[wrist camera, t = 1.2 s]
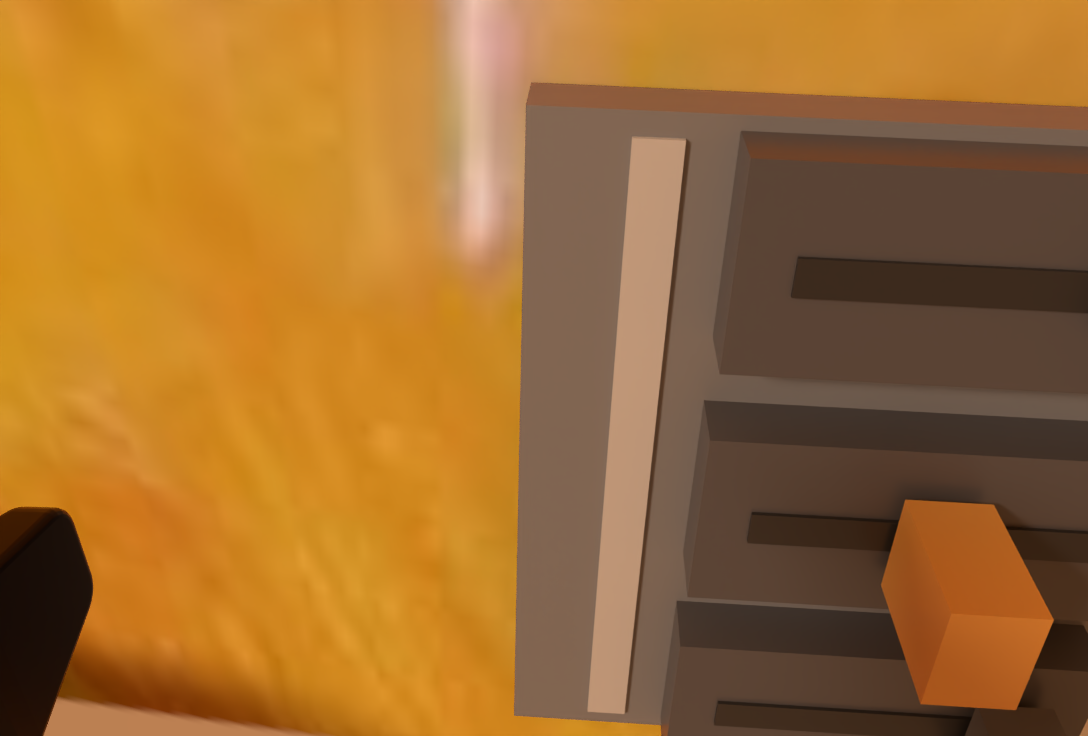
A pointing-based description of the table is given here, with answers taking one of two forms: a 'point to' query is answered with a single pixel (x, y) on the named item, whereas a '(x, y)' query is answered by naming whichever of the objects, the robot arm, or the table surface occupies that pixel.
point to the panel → (790, 399)
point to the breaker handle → (963, 605)
